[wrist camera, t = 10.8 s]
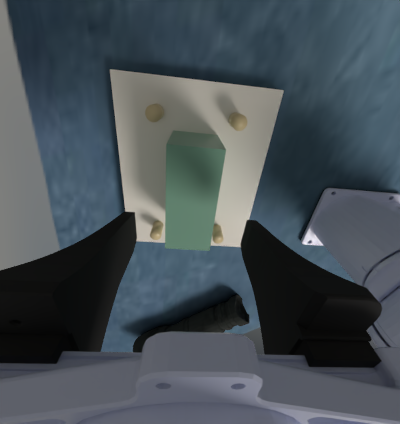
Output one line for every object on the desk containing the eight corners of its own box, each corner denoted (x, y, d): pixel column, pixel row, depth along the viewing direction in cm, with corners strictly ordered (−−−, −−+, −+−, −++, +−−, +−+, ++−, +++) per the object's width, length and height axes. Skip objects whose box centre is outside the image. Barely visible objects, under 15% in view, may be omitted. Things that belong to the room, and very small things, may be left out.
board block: (217, 134, 18) (226, 149, 13) (206, 217, 23) (209, 250, 18) (173, 130, 18) (166, 144, 13) (171, 215, 22) (165, 248, 18)
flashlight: (135, 330, 37) (128, 361, 33) (231, 286, 31) (238, 316, 27) (153, 341, 39) (149, 371, 35) (246, 301, 33) (254, 332, 29)
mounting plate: (278, 90, 17) (294, 89, 15) (239, 240, 26) (245, 258, 23) (114, 70, 16) (99, 66, 14) (131, 234, 25) (123, 251, 22)
